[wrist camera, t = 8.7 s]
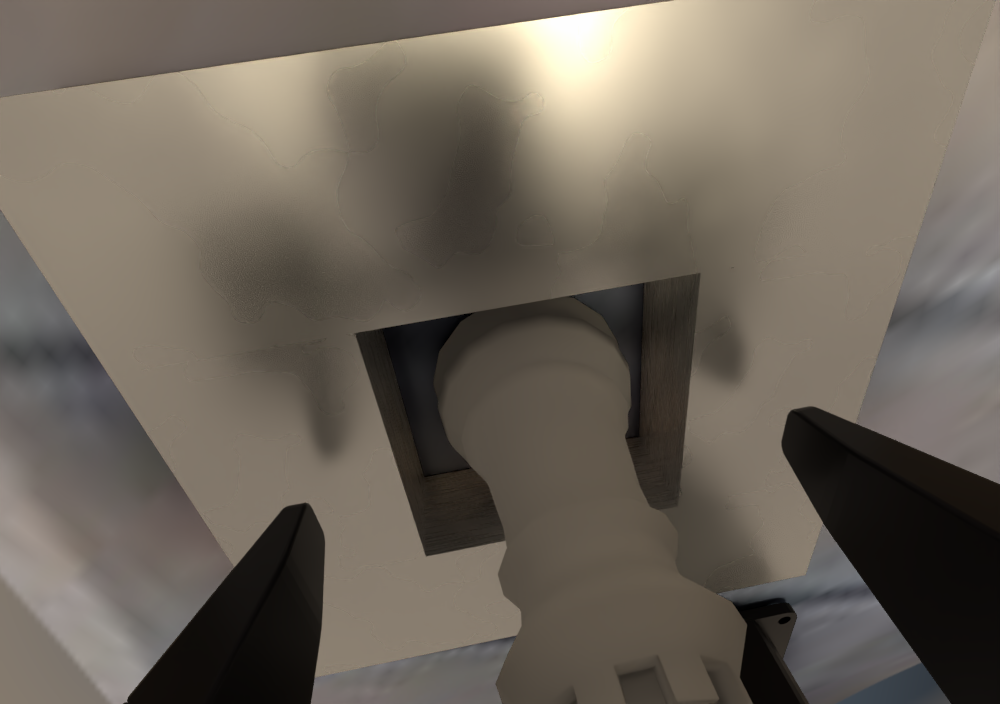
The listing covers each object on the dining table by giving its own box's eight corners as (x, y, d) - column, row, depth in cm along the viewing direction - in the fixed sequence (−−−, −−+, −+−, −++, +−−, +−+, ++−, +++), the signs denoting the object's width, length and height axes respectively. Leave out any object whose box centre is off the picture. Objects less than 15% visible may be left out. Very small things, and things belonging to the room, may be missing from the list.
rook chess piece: (647, 318, 12) (932, 664, 5) (562, 453, 14) (695, 833, 7) (475, 253, 11) (574, 616, 4) (406, 414, 13) (395, 841, 6)
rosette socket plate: (756, 506, 17) (805, 574, 14) (321, 593, 16) (307, 679, 14) (873, -29, 9) (1011, -48, 7) (56, 89, 8) (-67, 107, 6)
